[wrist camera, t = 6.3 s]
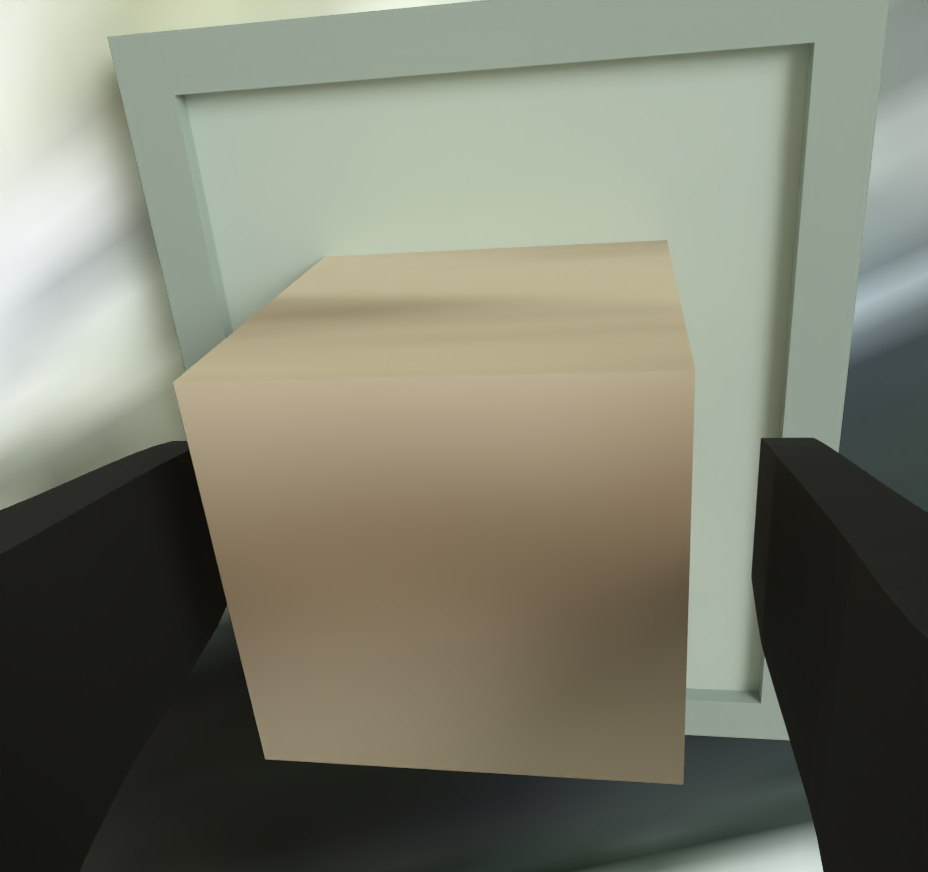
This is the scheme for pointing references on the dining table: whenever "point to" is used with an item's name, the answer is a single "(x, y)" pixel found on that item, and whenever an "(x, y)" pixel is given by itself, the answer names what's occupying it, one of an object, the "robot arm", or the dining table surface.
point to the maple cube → (459, 509)
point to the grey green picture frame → (551, 203)
